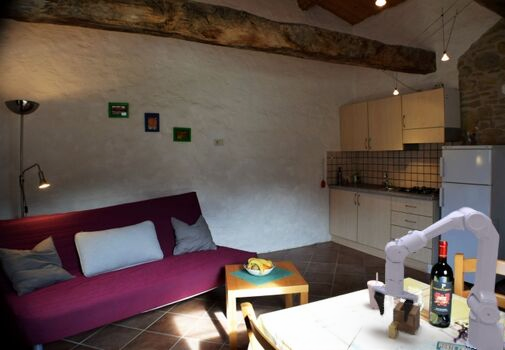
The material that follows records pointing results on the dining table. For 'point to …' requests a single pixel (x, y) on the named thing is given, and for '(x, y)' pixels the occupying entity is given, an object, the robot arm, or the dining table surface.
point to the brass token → (393, 329)
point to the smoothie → (371, 294)
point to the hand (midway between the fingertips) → (393, 317)
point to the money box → (413, 318)
